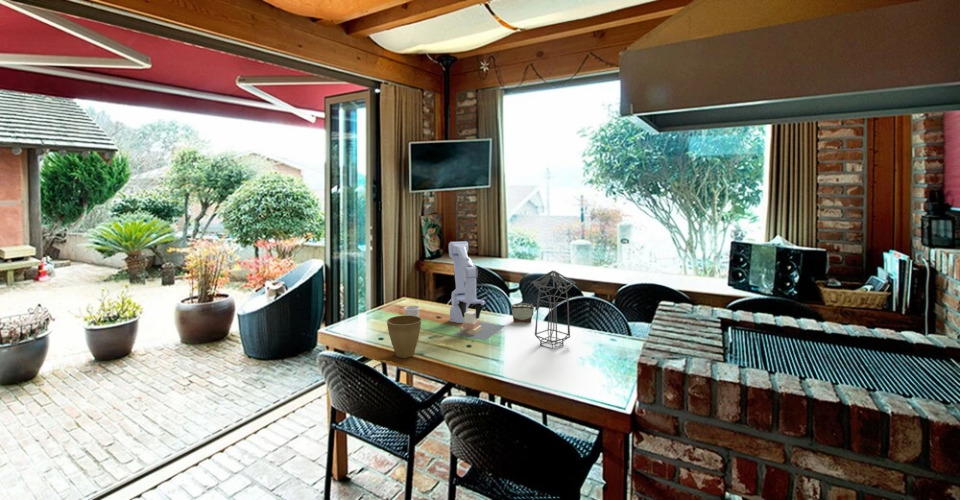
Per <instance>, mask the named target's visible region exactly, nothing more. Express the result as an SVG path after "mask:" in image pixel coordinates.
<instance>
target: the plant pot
mask: <svg viewBox="0 0 960 500" xmlns="http://www.w3.org/2000/svg"><path fill="white" fill-rule="evenodd" d="M421 325H422V318H421V317H420V316H419V317H417V316H411V315H396V316H392V317H390V318H388V319H386V327H387V331H388V334H389V339H390V341H391V346H392V348H393V351H394V353H395V355H396V357H397V358H401V359H408V358H411V357H413V356H414V355H415V351H416V349H417V347H418V346H417V345H418V341H419V338H420V332H421Z"/></svg>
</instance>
